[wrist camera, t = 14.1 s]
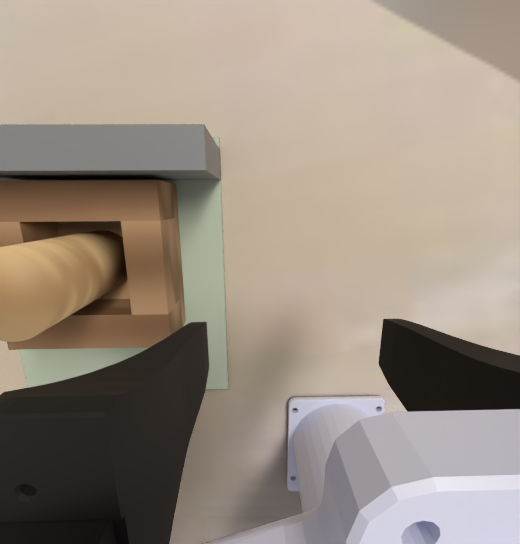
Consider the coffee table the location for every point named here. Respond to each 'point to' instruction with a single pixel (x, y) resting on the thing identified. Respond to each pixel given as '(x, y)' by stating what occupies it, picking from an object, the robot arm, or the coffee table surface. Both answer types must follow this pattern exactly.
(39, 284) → the oak dowel
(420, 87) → the coffee table surface
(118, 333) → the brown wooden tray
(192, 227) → the sage rubber mat
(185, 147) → the slate stop wall
